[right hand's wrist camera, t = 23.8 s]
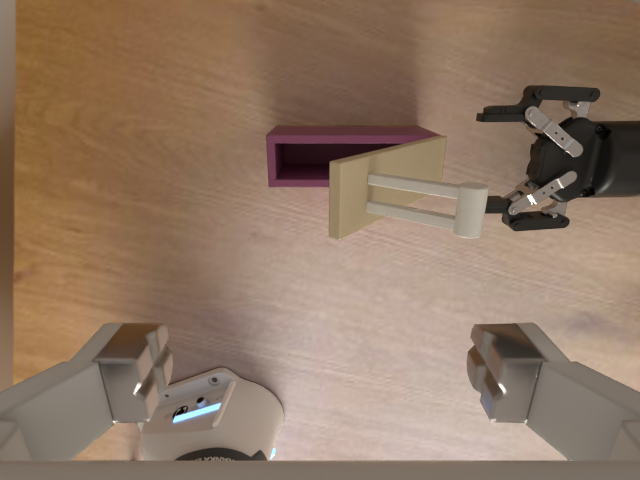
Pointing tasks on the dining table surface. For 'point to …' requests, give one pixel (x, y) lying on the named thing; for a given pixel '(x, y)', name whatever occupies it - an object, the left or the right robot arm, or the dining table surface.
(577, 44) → the dining table surface
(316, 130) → the chest
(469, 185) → the lid
